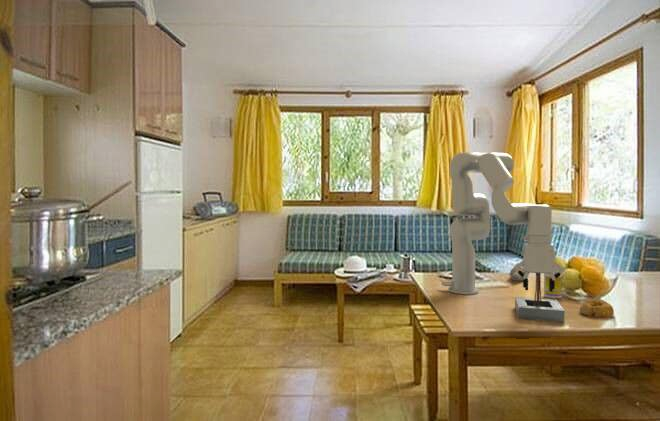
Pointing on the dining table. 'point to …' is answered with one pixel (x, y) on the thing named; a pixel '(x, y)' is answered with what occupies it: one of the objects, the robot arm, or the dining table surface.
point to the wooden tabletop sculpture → (538, 290)
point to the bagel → (597, 308)
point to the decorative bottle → (516, 274)
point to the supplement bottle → (558, 286)
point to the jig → (539, 310)
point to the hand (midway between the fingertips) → (538, 290)
